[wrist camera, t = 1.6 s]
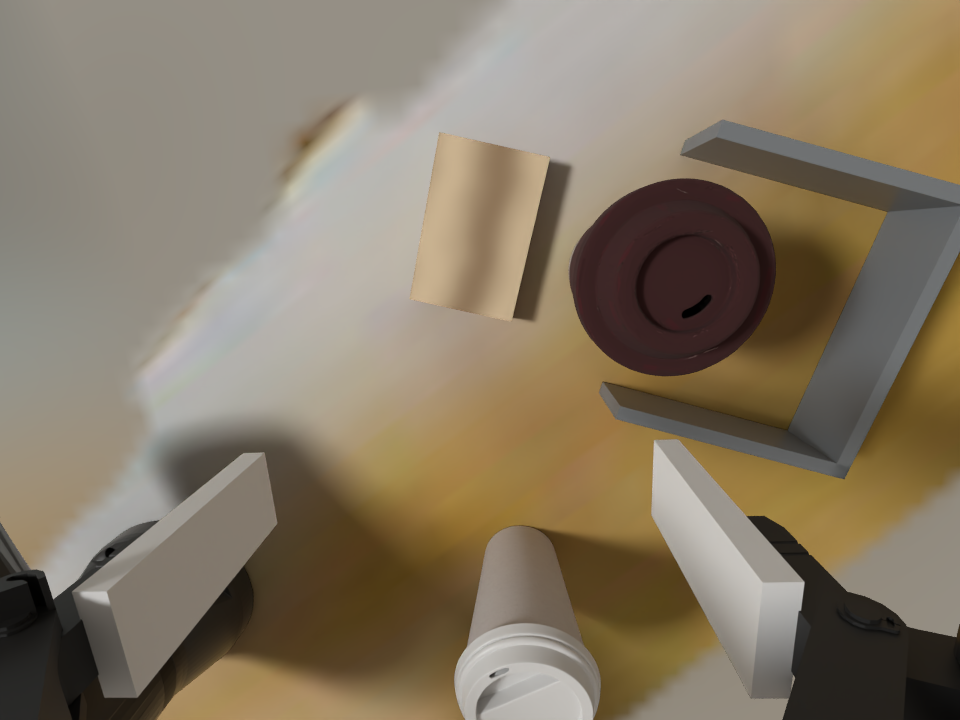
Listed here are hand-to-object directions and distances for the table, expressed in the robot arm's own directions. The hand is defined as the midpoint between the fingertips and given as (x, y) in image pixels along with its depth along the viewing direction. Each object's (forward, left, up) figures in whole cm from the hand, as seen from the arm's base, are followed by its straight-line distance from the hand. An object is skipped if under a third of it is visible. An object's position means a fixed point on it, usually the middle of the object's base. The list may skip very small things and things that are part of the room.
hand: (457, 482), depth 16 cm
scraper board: (-3, +8, -24) cm, 26 cm away
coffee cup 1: (+8, -19, -24) cm, 31 cm away
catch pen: (+19, +8, -24) cm, 31 cm away
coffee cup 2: (+8, +8, -24) cm, 26 cm away
